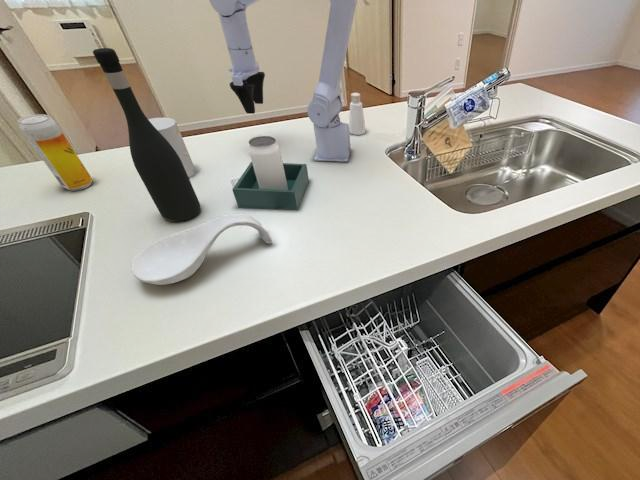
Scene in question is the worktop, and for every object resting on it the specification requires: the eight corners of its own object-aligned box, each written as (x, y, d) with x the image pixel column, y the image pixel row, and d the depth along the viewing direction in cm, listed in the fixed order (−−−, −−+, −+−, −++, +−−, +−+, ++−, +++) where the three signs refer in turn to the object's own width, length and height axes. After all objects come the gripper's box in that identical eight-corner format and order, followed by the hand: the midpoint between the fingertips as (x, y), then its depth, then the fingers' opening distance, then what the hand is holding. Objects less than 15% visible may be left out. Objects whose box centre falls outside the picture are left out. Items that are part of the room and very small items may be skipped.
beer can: (100, 182, 84) (58, 116, 73) (77, 193, 80) (29, 126, 69) (81, 177, 85) (37, 111, 75) (57, 188, 81) (7, 121, 71)
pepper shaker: (345, 132, 111) (342, 94, 103) (355, 127, 114) (353, 89, 106) (359, 136, 109) (357, 97, 101) (369, 131, 112) (368, 93, 104)
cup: (201, 173, 89) (181, 124, 80) (169, 184, 85) (144, 133, 76) (187, 162, 93) (166, 114, 84) (155, 172, 88) (130, 123, 80)
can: (292, 186, 86) (281, 136, 77) (283, 199, 81) (271, 148, 72) (266, 183, 86) (253, 133, 77) (256, 197, 81) (241, 146, 73)
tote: (309, 180, 89) (306, 163, 85) (297, 209, 79) (294, 192, 76) (255, 178, 88) (251, 161, 85) (238, 207, 79) (232, 189, 76)
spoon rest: (149, 304, 58) (126, 273, 53) (133, 267, 64) (111, 235, 59) (280, 252, 69) (272, 221, 63) (256, 224, 75) (247, 194, 69)
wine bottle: (158, 210, 77) (70, 46, 55) (196, 199, 80) (126, 42, 59) (167, 227, 73) (75, 58, 51) (206, 216, 76) (136, 52, 54)
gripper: (233, 40, 89) (248, 98, 99) (212, 53, 79) (230, 117, 89) (261, 41, 89) (273, 99, 99) (243, 55, 79) (258, 118, 89)
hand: (255, 108), depth 94 cm, fingers open, 7 cm apart
